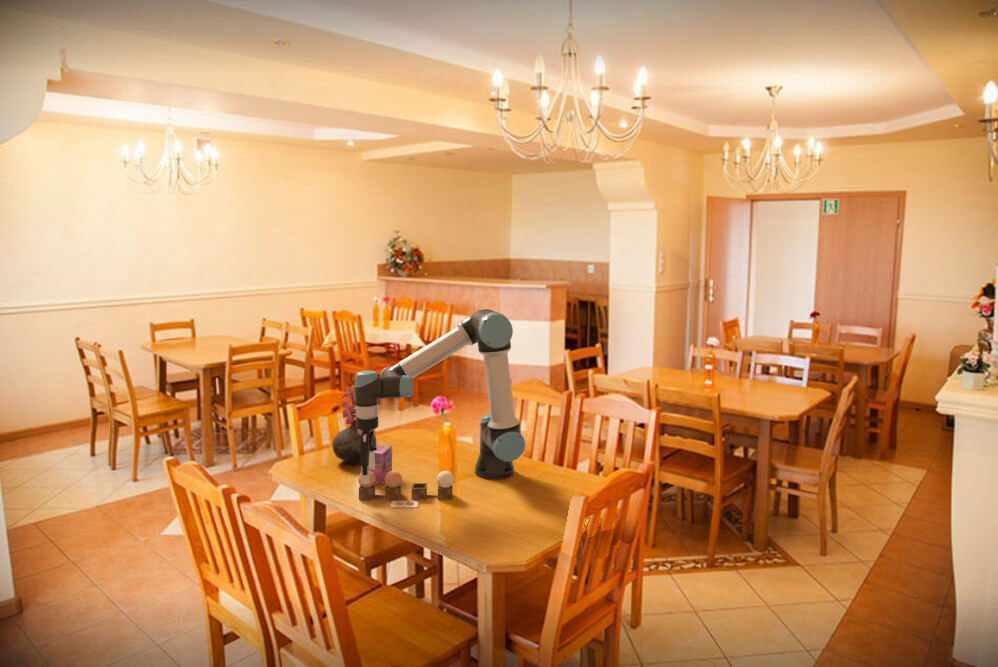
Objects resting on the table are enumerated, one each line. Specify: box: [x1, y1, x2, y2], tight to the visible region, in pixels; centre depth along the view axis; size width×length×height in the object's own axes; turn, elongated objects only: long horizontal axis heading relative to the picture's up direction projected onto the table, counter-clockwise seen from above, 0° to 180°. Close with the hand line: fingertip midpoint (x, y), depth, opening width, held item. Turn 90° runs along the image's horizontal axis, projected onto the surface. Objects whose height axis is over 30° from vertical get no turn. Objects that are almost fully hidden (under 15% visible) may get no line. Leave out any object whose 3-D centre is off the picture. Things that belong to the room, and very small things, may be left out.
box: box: [370, 443, 393, 485], centre depth 243 cm, size 10×6×12 cm, turn 168°
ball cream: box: [436, 470, 455, 488], centre depth 228 cm, size 6×6×6 cm
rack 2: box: [411, 482, 453, 501], centre depth 228 cm, size 14×5×4 cm, turn 93°
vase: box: [332, 386, 377, 465], centre depth 260 cm, size 17×17×30 cm
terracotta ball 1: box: [357, 471, 376, 488], centre depth 226 cm, size 6×6×6 cm
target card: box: [390, 500, 419, 509], centre depth 221 cm, size 9×5×1 cm, turn 93°
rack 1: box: [358, 483, 402, 501], centre depth 227 cm, size 14×5×4 cm, turn 93°
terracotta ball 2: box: [384, 470, 403, 488], centre depth 227 cm, size 6×6×6 cm
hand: (368, 476), depth 226 cm, fingers open, 13 cm apart
